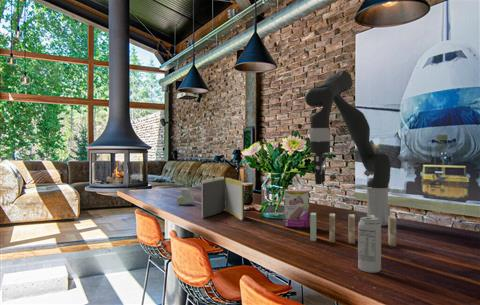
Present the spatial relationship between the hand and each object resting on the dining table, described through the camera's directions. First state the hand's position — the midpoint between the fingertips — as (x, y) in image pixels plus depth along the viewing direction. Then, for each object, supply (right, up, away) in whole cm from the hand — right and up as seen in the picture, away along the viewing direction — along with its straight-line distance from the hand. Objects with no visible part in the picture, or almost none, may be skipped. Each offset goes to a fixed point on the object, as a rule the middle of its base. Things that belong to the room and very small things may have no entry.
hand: (320, 183), depth 139 cm
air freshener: (-65, -22, +95) cm, 118 cm away
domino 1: (-3, -22, 0) cm, 22 cm away
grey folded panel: (-42, -22, +55) cm, 72 cm away
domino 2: (+4, -22, -1) cm, 22 cm away
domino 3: (+11, -22, -3) cm, 24 cm away
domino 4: (+18, -22, -5) cm, 28 cm away
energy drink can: (+6, -22, -37) cm, 43 cm away
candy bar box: (-5, -22, +25) cm, 34 cm away
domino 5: (+24, -22, -7) cm, 33 cm away
